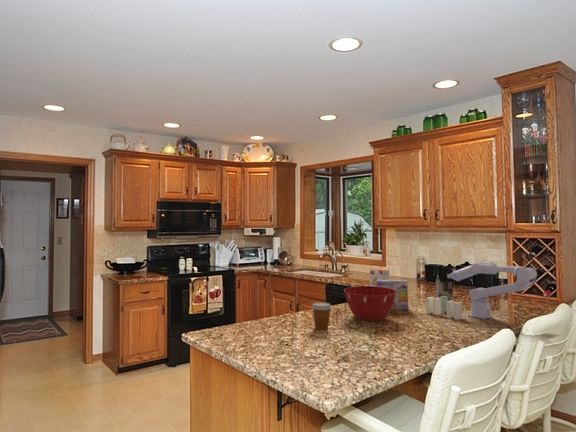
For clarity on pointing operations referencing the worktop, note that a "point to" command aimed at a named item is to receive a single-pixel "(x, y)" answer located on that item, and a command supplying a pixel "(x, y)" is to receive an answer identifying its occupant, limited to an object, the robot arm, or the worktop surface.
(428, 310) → the domino
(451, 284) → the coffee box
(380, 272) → the cracker box
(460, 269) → the robot arm
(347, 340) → the worktop surface
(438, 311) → the domino
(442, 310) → the domino
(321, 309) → the disposable coffee cup
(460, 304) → the domino
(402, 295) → the cake pan box
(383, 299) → the mixing bowl
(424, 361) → the worktop surface
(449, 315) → the domino
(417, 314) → the worktop surface
